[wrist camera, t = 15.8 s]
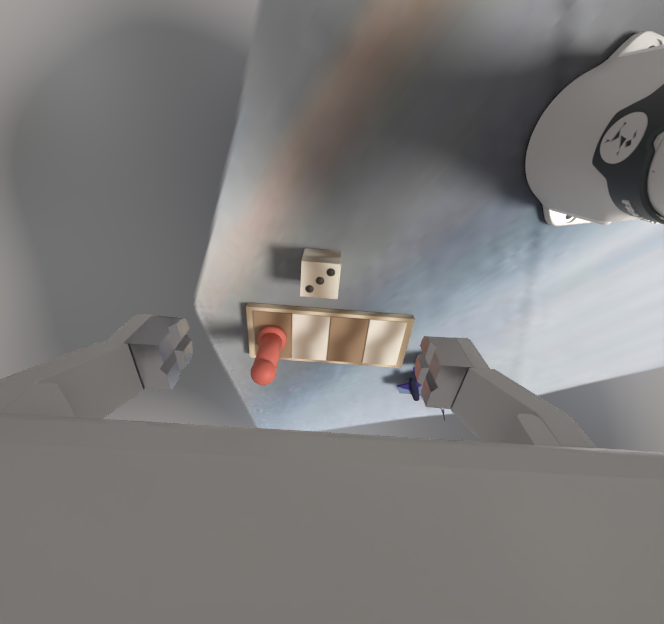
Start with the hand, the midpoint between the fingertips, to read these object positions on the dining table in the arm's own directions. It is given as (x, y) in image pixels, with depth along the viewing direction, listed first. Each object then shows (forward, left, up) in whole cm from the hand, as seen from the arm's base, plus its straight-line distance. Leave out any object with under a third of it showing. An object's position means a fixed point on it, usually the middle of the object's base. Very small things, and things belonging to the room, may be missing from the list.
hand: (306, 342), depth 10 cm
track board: (-2, +22, -31) cm, 38 cm away
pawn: (+7, +22, -30) cm, 38 cm away
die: (0, +10, -31) cm, 33 cm away
